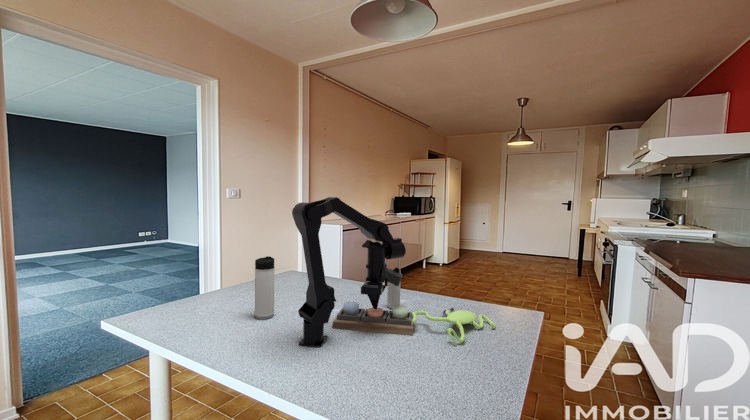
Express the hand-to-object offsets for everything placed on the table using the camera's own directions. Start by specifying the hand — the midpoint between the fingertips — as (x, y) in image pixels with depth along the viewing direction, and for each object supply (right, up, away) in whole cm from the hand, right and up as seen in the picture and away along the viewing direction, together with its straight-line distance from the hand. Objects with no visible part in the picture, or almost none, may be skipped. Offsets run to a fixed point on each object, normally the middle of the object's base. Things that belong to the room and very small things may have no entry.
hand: (375, 308), depth 106 cm
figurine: (+25, -6, -2) cm, 25 cm away
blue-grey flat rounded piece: (-8, -1, +1) cm, 8 cm away
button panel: (0, -5, 0) cm, 5 cm away
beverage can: (+7, -5, +17) cm, 19 cm away
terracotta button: (0, -3, 0) cm, 3 cm away
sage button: (+8, -2, -1) cm, 8 cm away
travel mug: (-38, -4, +6) cm, 38 cm away
